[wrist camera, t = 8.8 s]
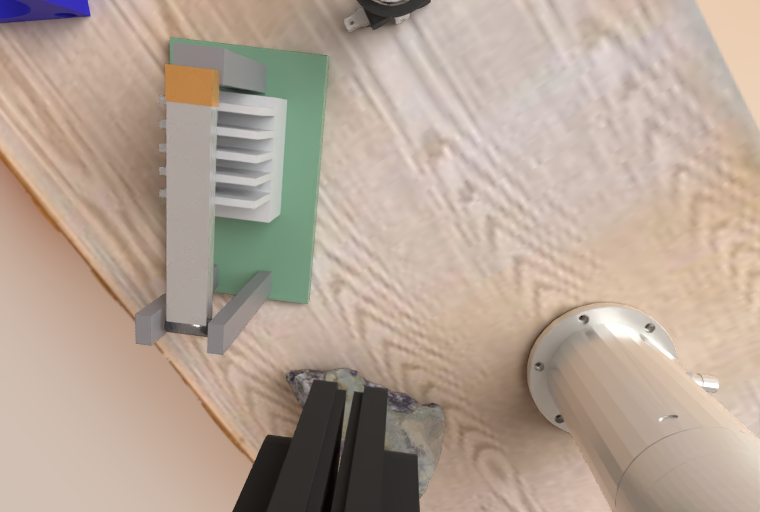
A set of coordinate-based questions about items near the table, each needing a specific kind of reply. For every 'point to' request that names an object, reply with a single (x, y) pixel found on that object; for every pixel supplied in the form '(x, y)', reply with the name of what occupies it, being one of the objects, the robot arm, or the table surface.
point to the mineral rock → (403, 422)
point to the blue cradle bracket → (41, 9)
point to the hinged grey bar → (190, 196)
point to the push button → (382, 12)
